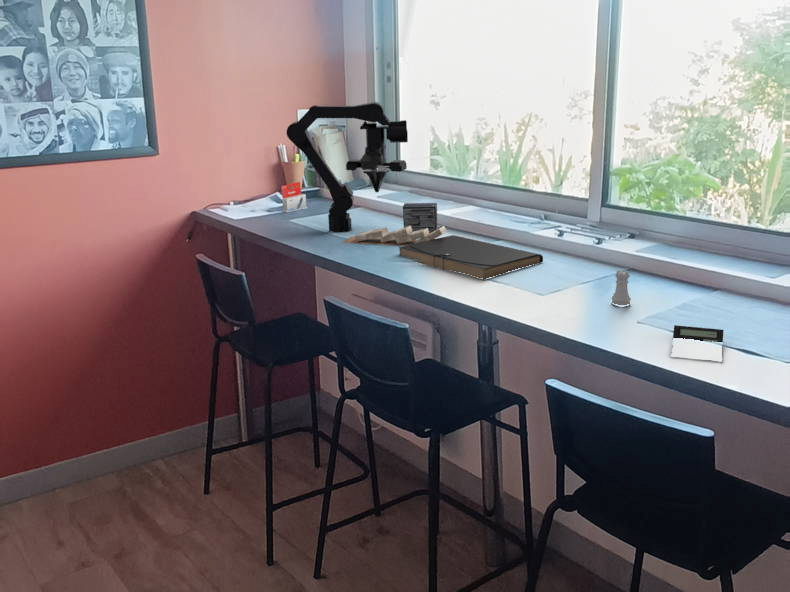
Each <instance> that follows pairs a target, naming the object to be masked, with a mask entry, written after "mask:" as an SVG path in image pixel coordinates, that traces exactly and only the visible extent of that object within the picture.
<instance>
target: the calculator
mask: <svg viewBox="0 0 790 592" xmlns="http://www.w3.org/2000/svg"><path fill="white" fill-rule="evenodd" d="M672 333H673V335H672V339H673V338H683V339H684V338H685V339H694V340H700V341H710V342H712V341H713V342H723V343H724V329H719V328H708V327H697V326H687V325H674V326H673V332H672Z"/></svg>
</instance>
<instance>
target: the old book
mask: <svg viewBox="0 0 790 592" xmlns="http://www.w3.org/2000/svg"><path fill="white" fill-rule="evenodd" d="M398 249H399V250H398V251H399V256H401V257H403V258H408V259H410V260H411V259H412V260H413V261H412V263H413V262H414V263H417V264H421V265H424V266H428V267H433V266H434V267H433V268H438V267H439V268H438V269H441V268H442V269H441V270H444V269H447V270H446V271H448V270H452V271H451V272H453V271H456V272H455V273H457V272H461V273H465V274H469V275H472V276H475V277H478V278H483V279H486V278H489V277H493V276H496V275H499V274H503V273H506V272H508V271H512V270H515V269H518V268H522V267H526V266H529V265H533V264H537V263H539V262H542V263H543V261H544V256H543V255H542V254H541V253H535V252H532V251H527V250H522V249H518V248H513V247H510V246H509V247H508V246H504V245H500V244H494V243H490V242H486V241H481V240H479V239H478V240H477V239H473V238H468V237H464V236H460V235H454V234H453V235H447V236H443V237H437V238H435V239H433V240H428V241H423V242H419V243H414V244H410V245H408V246H398ZM415 260H416V261H415ZM537 265H538V264H537ZM461 273H460V274H461ZM465 274H464V275H465ZM469 275H468V276H469ZM503 275H504V274H503ZM472 276H471V277H472ZM499 276H500V275H499ZM478 278H477V279H478Z"/></svg>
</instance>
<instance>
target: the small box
mask: <svg viewBox="0 0 790 592" xmlns="http://www.w3.org/2000/svg"><path fill="white" fill-rule="evenodd" d="M402 215H403V216H402V218H403V219H402V220H403V228H405V227H408V226H411V228H412V230H413V231H412V232H414V231H418V230H422V229H426V228H428V230H429V234H430V233H432V232H433V231H435V230H437V229H438V203H437V202H412V203H410V202H406V203H404V204H403V206H402Z"/></svg>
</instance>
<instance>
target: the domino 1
mask: <svg viewBox="0 0 790 592" xmlns="http://www.w3.org/2000/svg"><path fill="white" fill-rule="evenodd" d="M387 233H389V231H388V227H387V226H386V227H381V228H377V229H372V230H367V231H362V232H359V233H358V234H356V235H354V237H355V239H356V242H358V241H363V240H368V239H373V238H380V237H383V236H385V235H386V234H387Z"/></svg>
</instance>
